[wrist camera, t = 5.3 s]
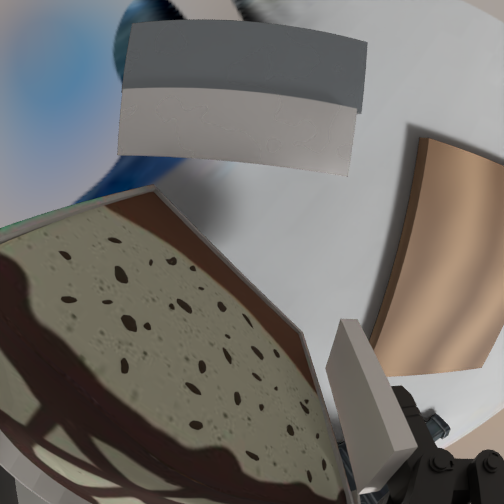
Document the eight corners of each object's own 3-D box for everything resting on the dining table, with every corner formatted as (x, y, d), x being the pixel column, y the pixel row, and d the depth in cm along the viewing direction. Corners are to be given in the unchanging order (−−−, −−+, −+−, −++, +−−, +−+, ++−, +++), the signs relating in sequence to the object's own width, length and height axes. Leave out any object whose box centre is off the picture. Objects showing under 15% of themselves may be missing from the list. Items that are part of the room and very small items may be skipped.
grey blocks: (167, 420, 25) (151, 482, 18) (168, 55, 14) (120, 16, 8) (268, 431, 25) (269, 496, 18) (333, 70, 15) (379, 36, 8)
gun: (506, 503, 12) (367, 597, 10) (421, 411, 28) (301, 472, 26) (517, 492, 11) (369, 597, 9) (424, 397, 27) (298, 461, 25)
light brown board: (359, 367, 22) (362, 377, 21) (419, 137, 16) (429, 138, 15) (475, 360, 22) (481, 367, 21) (537, 183, 16) (546, 186, 15)
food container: (55, 255, 13) (-88, 385, 3) (129, 158, 11) (-98, 240, 2) (231, 405, 16) (222, 570, 7) (320, 349, 15) (371, 540, 5)
